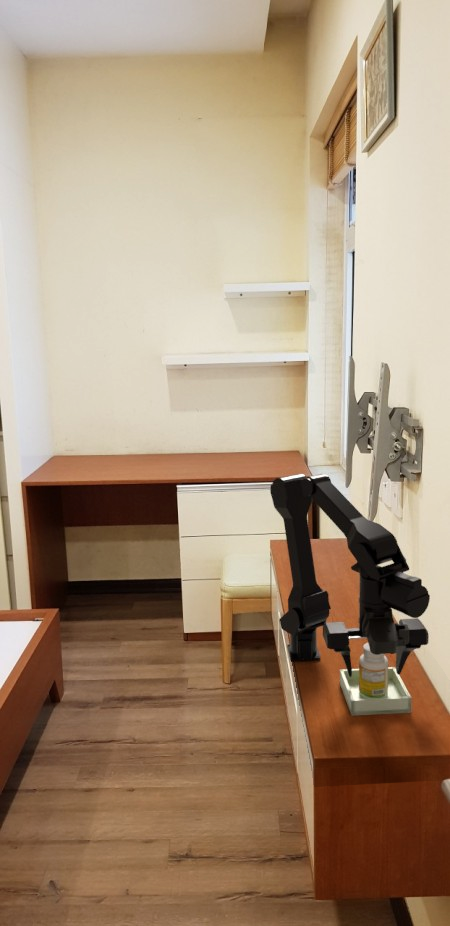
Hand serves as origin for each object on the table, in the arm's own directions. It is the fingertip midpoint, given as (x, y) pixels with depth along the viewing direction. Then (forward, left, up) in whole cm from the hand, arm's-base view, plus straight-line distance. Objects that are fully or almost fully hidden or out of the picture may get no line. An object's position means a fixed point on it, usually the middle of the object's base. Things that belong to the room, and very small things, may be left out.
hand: (374, 674), depth 126 cm
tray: (0, 0, -5) cm, 5 cm away
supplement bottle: (0, 0, -4) cm, 4 cm away
